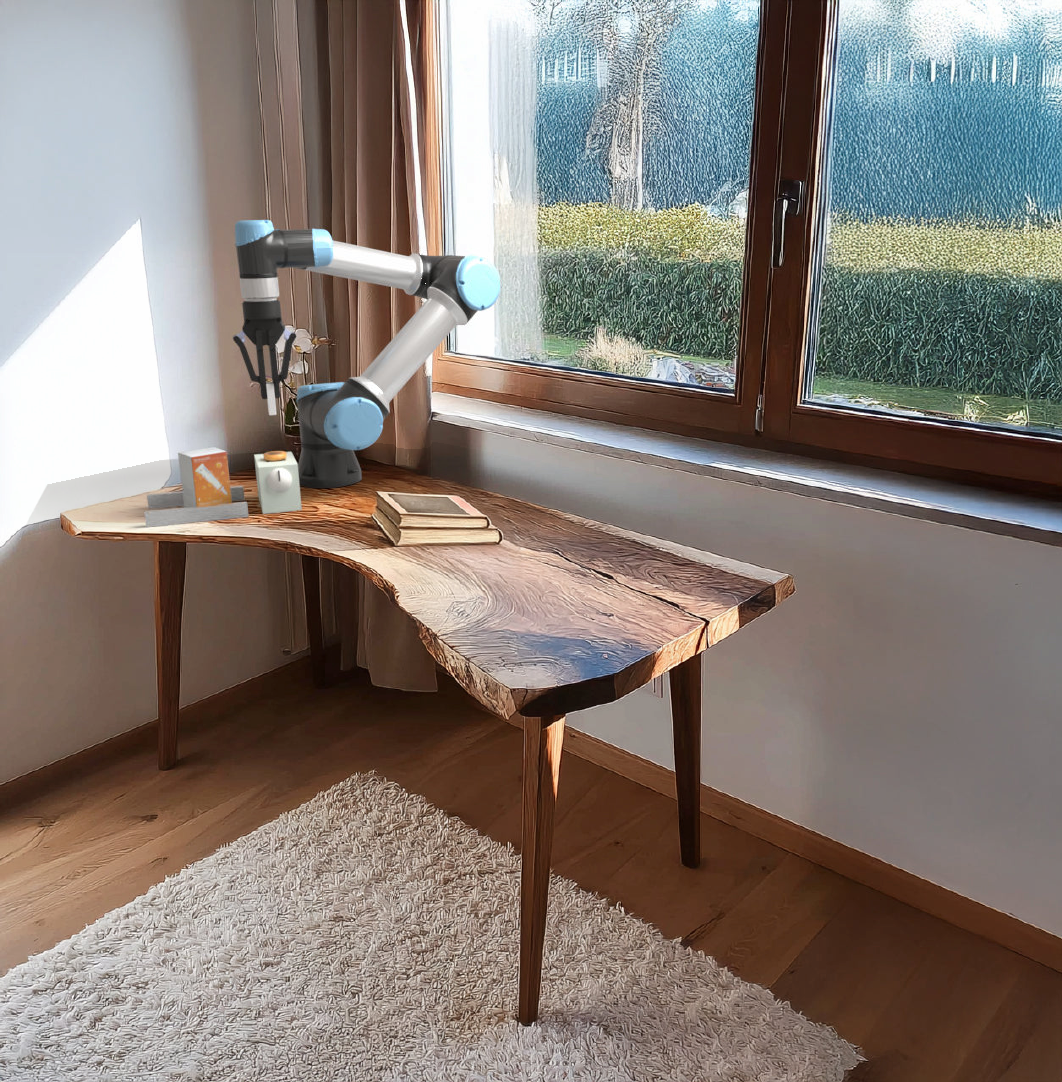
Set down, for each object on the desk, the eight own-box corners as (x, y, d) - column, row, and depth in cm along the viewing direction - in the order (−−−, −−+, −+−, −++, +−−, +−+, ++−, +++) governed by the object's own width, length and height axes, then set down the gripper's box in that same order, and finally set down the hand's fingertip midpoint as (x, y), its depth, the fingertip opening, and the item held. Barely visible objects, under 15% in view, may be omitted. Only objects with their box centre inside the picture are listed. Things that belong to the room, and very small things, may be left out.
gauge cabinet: (295, 495, 221) (291, 451, 217) (302, 510, 208) (297, 464, 205) (258, 498, 218) (254, 454, 215) (263, 514, 206) (258, 468, 203)
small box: (197, 518, 204) (190, 456, 200) (184, 512, 209) (176, 452, 205) (233, 510, 209) (227, 450, 205) (220, 504, 214) (213, 446, 210)
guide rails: (244, 498, 218) (243, 485, 217) (248, 516, 204) (247, 503, 203) (148, 507, 212) (146, 494, 211) (146, 527, 198) (144, 513, 197)
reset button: (287, 477, 215) (285, 450, 213) (289, 482, 210) (287, 454, 209) (265, 479, 213) (262, 452, 211) (266, 484, 209) (264, 456, 207)
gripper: (291, 296, 206) (301, 408, 213) (226, 299, 202) (239, 413, 209) (295, 299, 199) (305, 414, 206) (228, 302, 195) (241, 419, 202)
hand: (272, 413), depth 208 cm, fingers closed
